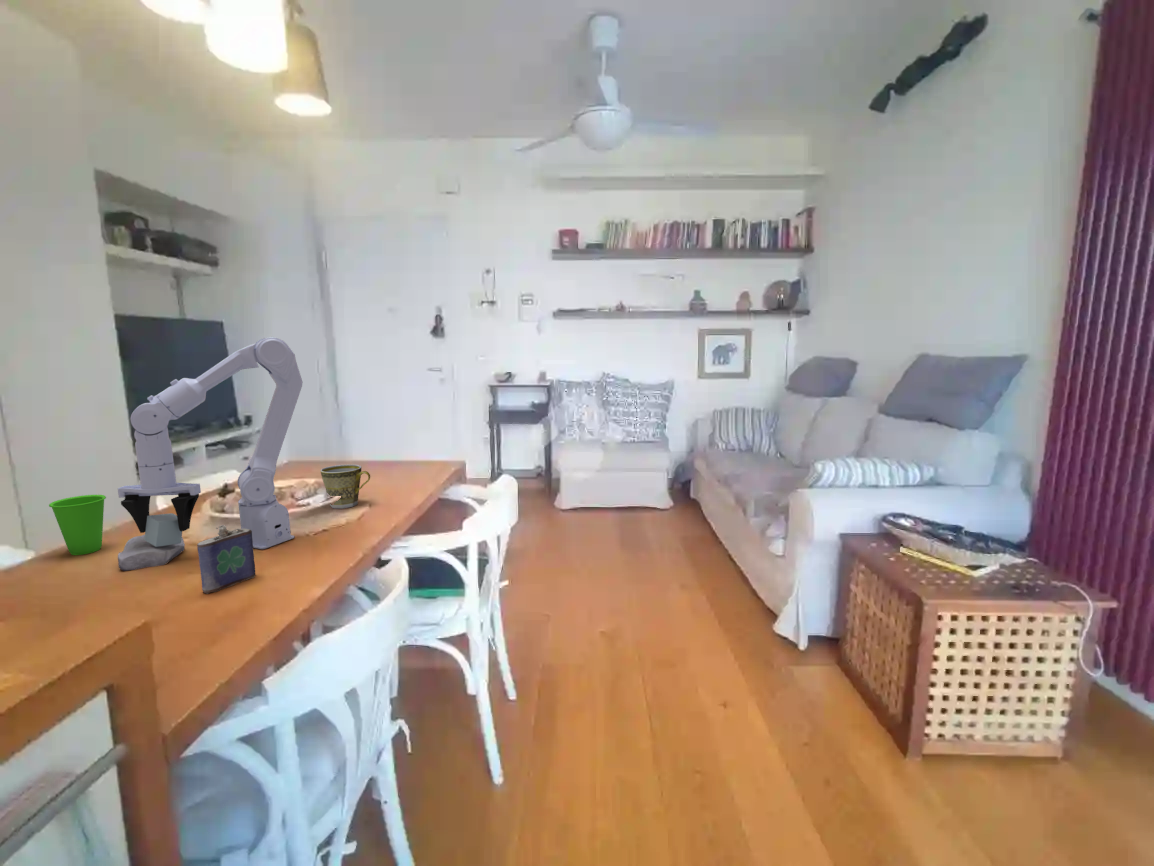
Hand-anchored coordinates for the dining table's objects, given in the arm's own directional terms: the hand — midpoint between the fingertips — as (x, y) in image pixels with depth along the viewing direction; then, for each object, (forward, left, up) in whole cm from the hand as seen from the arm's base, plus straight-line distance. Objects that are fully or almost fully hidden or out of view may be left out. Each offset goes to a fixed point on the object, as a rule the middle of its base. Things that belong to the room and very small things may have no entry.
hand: (165, 530), depth 116 cm
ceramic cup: (-6, -42, -6) cm, 43 cm away
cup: (+21, +4, -6) cm, 22 cm away
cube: (0, +1, -2) cm, 2 cm away
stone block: (+3, +1, -6) cm, 7 cm away
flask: (-24, +4, -6) cm, 25 cm away
